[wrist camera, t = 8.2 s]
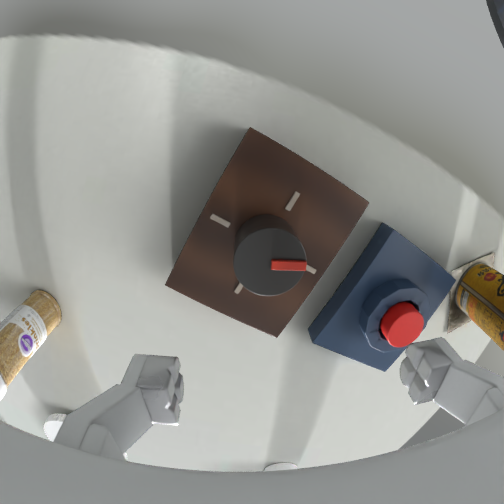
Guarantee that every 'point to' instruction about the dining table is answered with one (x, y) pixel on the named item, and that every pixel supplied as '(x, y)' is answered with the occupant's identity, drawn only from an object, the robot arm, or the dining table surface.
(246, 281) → the dial
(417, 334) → the button
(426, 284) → the button housing
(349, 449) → the dining table surface
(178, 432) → the dining table surface
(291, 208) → the dial panel
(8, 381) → the sprinkles bottle
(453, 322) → the condiment
